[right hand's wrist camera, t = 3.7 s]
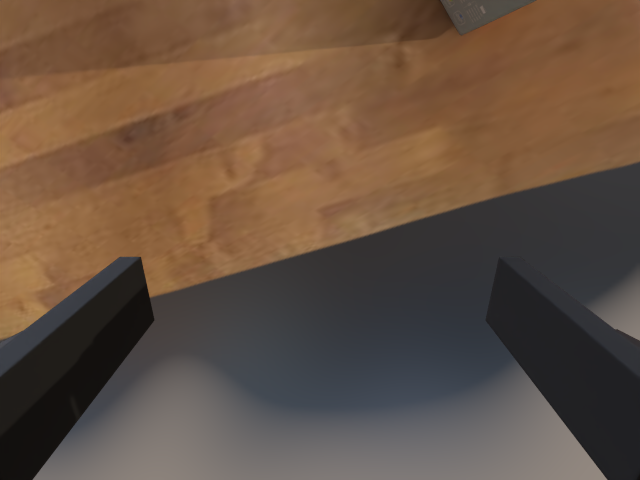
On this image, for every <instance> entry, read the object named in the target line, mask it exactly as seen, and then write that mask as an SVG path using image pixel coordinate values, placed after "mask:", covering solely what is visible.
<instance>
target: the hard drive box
mask: <svg viewBox="0 0 640 480" xmlns="http://www.w3.org/2000/svg"><path fill="white" fill-rule="evenodd" d="M440 1H441V2H442V4H443V6H444V8H445V10H446V11H447V13H448V15H449V17H450V18H451V20H452V22H453V24H454V25H455V27H456V29H457V31H458V32H459V34H460V35H463V34H466V33H468V32H470V31H472V30H475V29H477V28H479V27H481V26H483V25H485V24H487V23H490V22H492V21H494V20H496V19H498V18H500V17H502V16H504V15H506V14H509V13H511V12H513V11H515V10H517V9H519V8H521V7H523V6H525V5H528V4H530V3H532V2H534V1H536V0H440Z"/></svg>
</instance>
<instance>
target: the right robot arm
mask: <svg viewBox="0 0 640 480" xmlns="http://www.w3.org/2000/svg"><path fill="white" fill-rule="evenodd" d="M153 321H154V316H153V311H152V307H151V302H150V297H149V293H148V288H147V283H146V279H145V274H144V270H143V265H142V260H141V257H119V258H118V259H117V260H115V261H114V262H113V263H111V264H110V265H109V266H107V267H106V268H105V269H103V270H102V271H101V272H100V273H98V274H97V275H96V276H94V277H93V278H92V279H90V280H89V281H88V282H86V283H85V284H84V285H83V286H81V287H80V288H79V289H77V290H76V291H75V292H73V293H72V294H71V295H70V296H68V297H67V298H66V299H64V300H63V301H62V302H60V303H59V304H58V305H56V306H55V307H54V308H53V309H51V310H50V311H49V312H47V313H46V314H45V315H43V316H42V317H41V318H39V319H38V320H37V321H36V322H34V323H33V324H32V325H30V326H29V327H28V328H26V329H25V330H24V331H21V332H20V333H18V334H16V335H14V336H12V337H10V338H8V339H6V340H4V341H2V342H0V480H33V478H34V477H35V476H36V474H37V473H38V472H39V470H40V469H41V468H42V467H43V465H44V464H45V463H46V461H47V460H48V459H49V457H50V456H51V455H52V453H53V452H54V451H55V450H56V448H57V447H58V446H59V444H60V443H61V442H62V440H63V439H64V438H65V436H66V435H67V434H68V433H69V431H70V430H71V429H72V427H73V426H74V425H75V423H76V422H77V421H78V419H79V418H80V417H81V416H82V414H83V413H84V412H85V410H86V409H87V408H88V406H89V405H90V404H91V402H92V401H93V400H94V399H95V397H96V396H97V395H98V393H99V392H100V391H101V389H102V388H103V387H104V386H105V384H106V383H107V382H108V380H109V379H110V378H111V376H112V375H113V374H114V372H115V371H116V370H117V368H118V367H119V366H120V365H121V363H122V362H123V361H124V359H125V358H126V357H127V355H128V354H129V353H130V351H131V350H132V349H133V348H134V346H135V345H136V344H137V342H138V341H139V340H140V338H141V337H142V336H143V334H144V333H145V332H146V331H147V329H148V328H149V327H150V325H151V324H152V323H153ZM486 321H487V323H488V324H489V325H490V327H491V328H492V329H493V331H494V332H495V333H496V335H497V336H498V337H499V338H500V340H501V341H502V342H503V344H504V345H505V346H506V348H507V349H508V350H509V351H510V353H511V354H512V355H513V357H514V358H515V359H516V361H517V362H518V363H519V365H520V366H521V367H522V368H523V370H524V371H525V372H526V374H527V375H528V376H529V378H530V379H531V380H532V382H533V383H534V384H535V386H536V387H537V388H538V389H539V391H540V392H541V393H542V395H543V396H544V397H545V399H546V400H547V401H548V402H549V404H550V405H551V406H552V408H553V409H554V410H555V412H556V413H557V414H558V416H559V417H560V418H561V419H562V421H563V422H564V423H565V425H566V426H567V427H568V429H569V430H570V431H571V433H572V434H573V435H574V436H575V438H576V439H577V440H578V442H579V443H580V444H581V446H582V447H583V448H584V450H585V451H586V452H587V453H588V455H589V456H590V457H591V459H592V460H593V461H594V463H595V464H596V465H597V467H598V468H599V469H600V470H601V472H602V473H603V474H604V476H605V477H606V478H607V480H640V341H639V340H637V339H635V338H633V337H631V336H629V335H627V334H625V333H623V332H621V331H619V330H615V329H613V328H612V327H611V326H610V325H608V324H607V323H606V322H604V321H603V320H602V319H600V318H599V317H598V316H597V315H595V314H594V313H593V312H591V311H590V310H589V309H587V308H586V307H585V306H584V305H582V304H581V303H580V302H578V301H577V300H576V299H574V298H573V297H572V296H570V295H569V294H568V293H567V292H565V291H564V290H563V289H561V288H560V287H559V286H557V285H556V284H555V283H554V282H552V281H551V280H550V279H548V278H547V277H546V276H544V275H543V274H542V273H540V272H539V271H538V270H537V269H535V268H534V267H533V266H531V265H530V264H529V263H527V262H526V261H525V260H523V259H522V258H521V257H499V260H498V265H497V270H496V274H495V279H494V284H493V288H492V293H491V297H490V302H489V307H488V311H487V316H486Z"/></svg>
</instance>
